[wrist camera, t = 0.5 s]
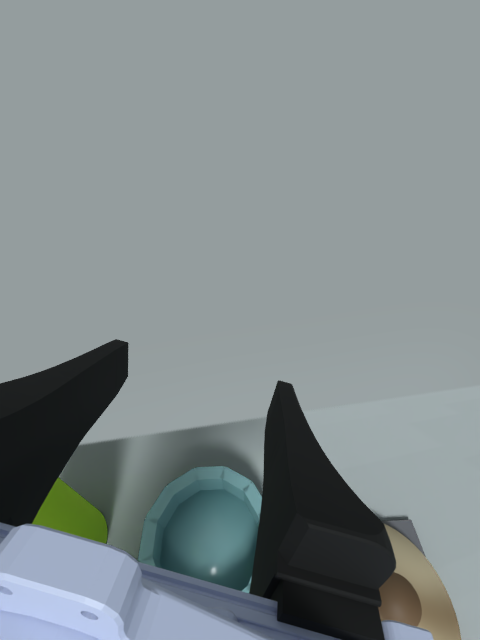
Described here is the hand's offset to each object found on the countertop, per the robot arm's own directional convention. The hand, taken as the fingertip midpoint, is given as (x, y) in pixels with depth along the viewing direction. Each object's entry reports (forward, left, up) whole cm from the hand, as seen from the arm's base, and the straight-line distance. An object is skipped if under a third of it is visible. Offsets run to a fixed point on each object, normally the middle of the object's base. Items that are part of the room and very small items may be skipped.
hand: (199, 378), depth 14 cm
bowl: (-3, +1, -19) cm, 19 cm away
